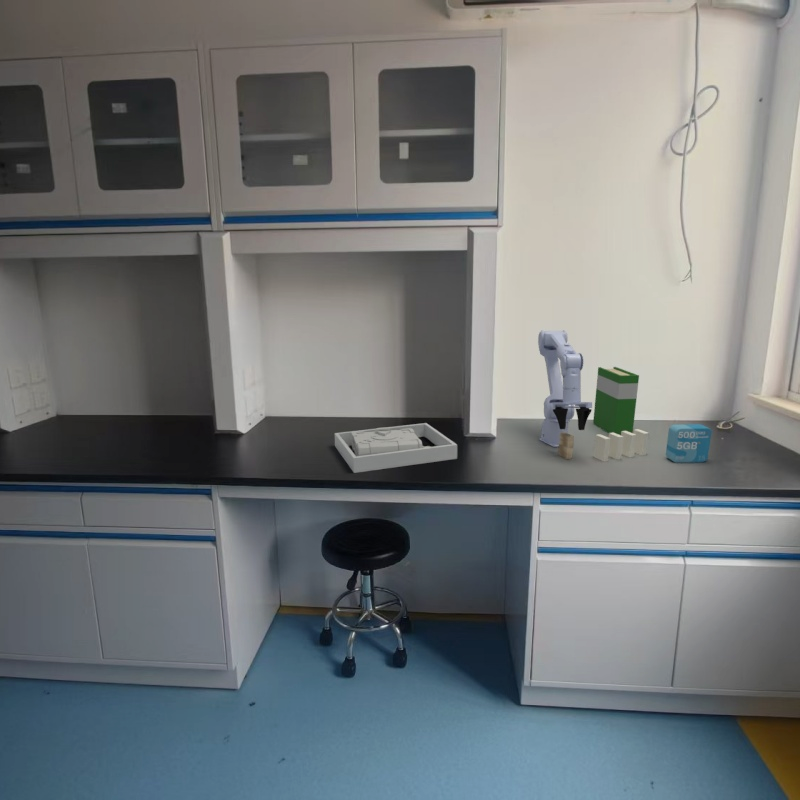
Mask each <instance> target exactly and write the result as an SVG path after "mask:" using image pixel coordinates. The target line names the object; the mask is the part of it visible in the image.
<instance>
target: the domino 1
mask: <svg viewBox="0 0 800 800" xmlns="http://www.w3.org/2000/svg"><path fill="white" fill-rule="evenodd" d="M574 439H575V436H574V435H572V434H569V433H565V432H564V433H560V440H559V447H558V456H560V457H561V458H564V459H565V460H572V459H573V451H574Z"/></svg>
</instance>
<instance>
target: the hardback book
mask: <svg viewBox="0 0 800 800" xmlns="http://www.w3.org/2000/svg"><path fill="white" fill-rule="evenodd" d="M596 376H597V378H596V379H597V380H596V389H595V398H594V411H593V421H592V424H593V425H595V426H596V427H597V428H600V430H602V431H603V432H606V433H607V434H609V433H616V434H618V435H621V431H628V432H631V433H634V426H635V425H634V424H635V418H636V417H635V414H636V406H637V396H638V388H639V379H640V374H636V373H633V372H631V371H628V370H626V369H623V368H619V367H617V366H613V368H603V367H601V366H600V367H598V368H597V375H596Z"/></svg>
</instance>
